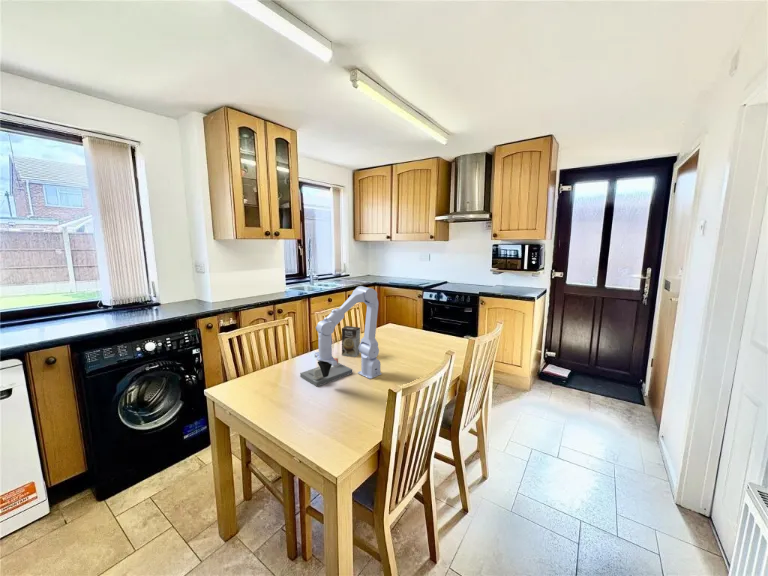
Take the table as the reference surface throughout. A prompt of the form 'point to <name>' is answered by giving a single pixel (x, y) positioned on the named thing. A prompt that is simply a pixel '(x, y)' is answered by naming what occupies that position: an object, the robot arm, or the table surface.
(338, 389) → the table surface
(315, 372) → the grey square block
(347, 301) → the robot arm
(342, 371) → the control panel
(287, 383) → the table surface
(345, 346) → the coffee box
